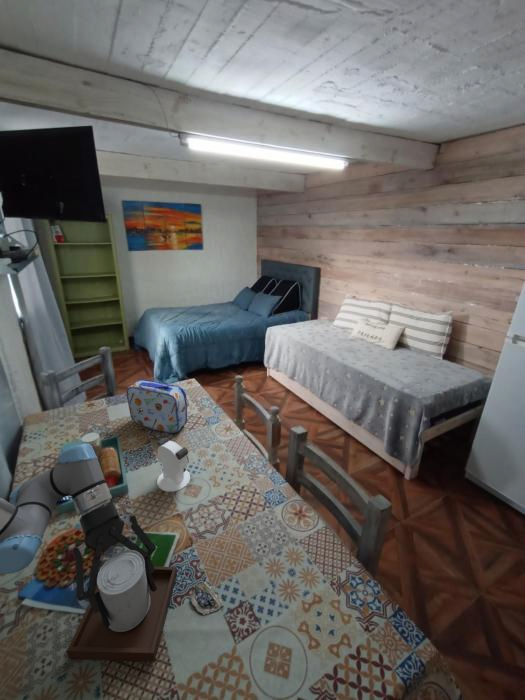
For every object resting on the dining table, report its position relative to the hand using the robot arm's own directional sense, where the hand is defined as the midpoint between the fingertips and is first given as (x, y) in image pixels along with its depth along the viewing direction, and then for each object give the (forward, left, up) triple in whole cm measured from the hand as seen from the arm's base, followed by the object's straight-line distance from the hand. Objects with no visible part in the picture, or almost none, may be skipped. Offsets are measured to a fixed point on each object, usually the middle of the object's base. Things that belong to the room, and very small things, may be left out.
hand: (131, 607), depth 69 cm
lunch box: (-64, +46, -6) cm, 79 cm away
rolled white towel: (-3, 0, -4) cm, 5 cm away
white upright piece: (-31, +31, -6) cm, 44 cm away
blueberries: (+8, +14, -6) cm, 17 cm away
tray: (-3, 0, -6) cm, 7 cm away
